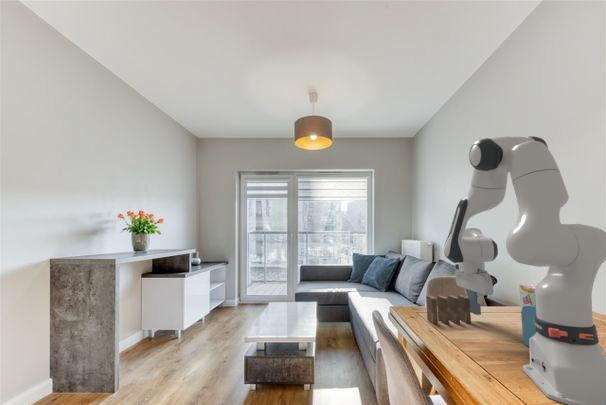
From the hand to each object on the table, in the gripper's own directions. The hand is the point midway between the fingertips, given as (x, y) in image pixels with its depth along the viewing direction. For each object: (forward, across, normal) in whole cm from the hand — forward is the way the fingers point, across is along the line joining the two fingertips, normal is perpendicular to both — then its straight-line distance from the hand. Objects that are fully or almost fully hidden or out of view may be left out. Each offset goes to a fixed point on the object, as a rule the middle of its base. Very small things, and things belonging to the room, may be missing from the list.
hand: (474, 301), depth 123 cm
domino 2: (+8, 0, +13) cm, 16 cm away
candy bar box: (+8, -16, -13) cm, 22 cm away
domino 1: (+8, 0, +18) cm, 20 cm away
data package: (+8, -28, -6) cm, 30 cm away
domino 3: (+8, 0, +9) cm, 12 cm away
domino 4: (+8, 0, +4) cm, 9 cm away
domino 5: (+5, 0, 0) cm, 5 cm away
